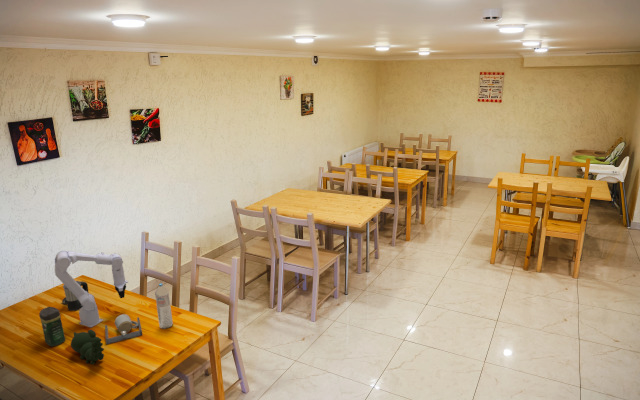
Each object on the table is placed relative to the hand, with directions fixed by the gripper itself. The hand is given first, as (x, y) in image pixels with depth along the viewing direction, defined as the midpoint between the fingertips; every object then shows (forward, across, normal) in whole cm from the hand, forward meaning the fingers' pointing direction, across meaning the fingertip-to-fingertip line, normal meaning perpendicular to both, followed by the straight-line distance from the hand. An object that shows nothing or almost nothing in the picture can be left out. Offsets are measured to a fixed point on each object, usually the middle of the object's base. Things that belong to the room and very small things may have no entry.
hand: (122, 297), depth 245 cm
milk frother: (+11, +26, +27) cm, 38 cm away
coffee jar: (+11, -12, +34) cm, 37 cm away
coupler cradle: (+10, -20, +2) cm, 23 cm away
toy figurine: (+11, -35, +18) cm, 41 cm away
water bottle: (+11, -24, -19) cm, 33 cm away
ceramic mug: (+11, -18, 0) cm, 21 cm away
